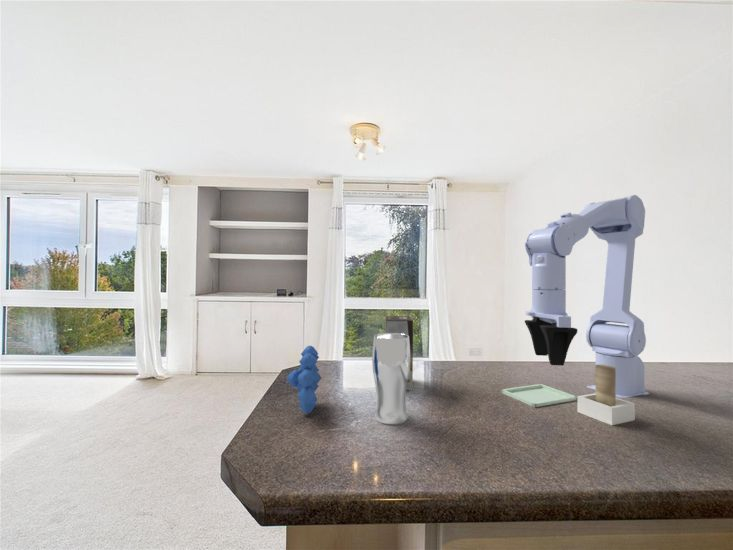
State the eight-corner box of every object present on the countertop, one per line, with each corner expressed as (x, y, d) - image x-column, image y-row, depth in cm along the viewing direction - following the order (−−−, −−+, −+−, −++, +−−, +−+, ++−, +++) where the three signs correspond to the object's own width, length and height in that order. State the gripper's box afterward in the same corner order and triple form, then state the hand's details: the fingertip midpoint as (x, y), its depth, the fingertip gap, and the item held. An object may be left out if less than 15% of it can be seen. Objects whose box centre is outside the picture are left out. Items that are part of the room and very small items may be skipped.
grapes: (290, 398, 70) (291, 341, 70) (322, 397, 70) (323, 341, 71) (280, 422, 58) (281, 354, 58) (319, 421, 59) (320, 353, 59)
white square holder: (599, 410, 65) (599, 392, 65) (634, 423, 59) (634, 403, 59) (577, 414, 63) (577, 396, 63) (611, 428, 57) (611, 408, 57)
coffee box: (413, 390, 75) (413, 320, 76) (385, 390, 76) (385, 320, 76) (409, 378, 85) (409, 315, 85) (384, 378, 85) (385, 315, 85)
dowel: (602, 411, 63) (602, 364, 63) (619, 417, 60) (619, 368, 60) (591, 413, 62) (591, 365, 62) (608, 420, 59) (608, 369, 59)
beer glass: (413, 413, 63) (413, 334, 63) (405, 428, 56) (405, 340, 56) (378, 408, 65) (378, 331, 65) (366, 422, 58) (367, 337, 59)
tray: (541, 388, 77) (541, 383, 77) (577, 402, 69) (577, 396, 69) (500, 395, 73) (500, 389, 73) (534, 410, 65) (534, 404, 65)
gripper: (515, 288, 72) (515, 350, 72) (540, 290, 58) (540, 368, 57) (550, 288, 71) (550, 352, 71) (584, 291, 56) (584, 370, 56)
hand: (548, 359), depth 64 cm, fingers open, 7 cm apart
